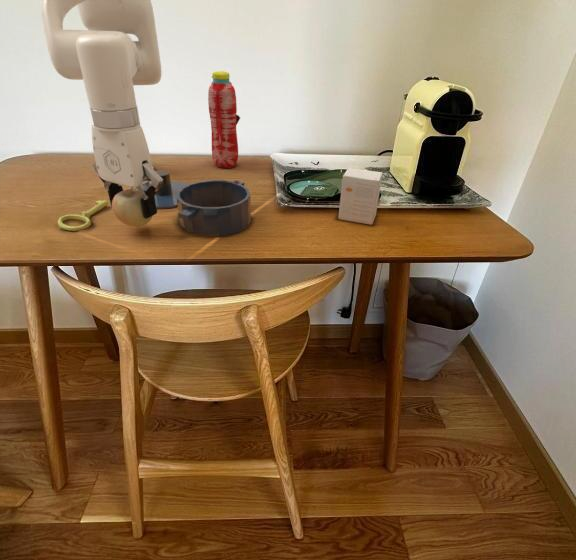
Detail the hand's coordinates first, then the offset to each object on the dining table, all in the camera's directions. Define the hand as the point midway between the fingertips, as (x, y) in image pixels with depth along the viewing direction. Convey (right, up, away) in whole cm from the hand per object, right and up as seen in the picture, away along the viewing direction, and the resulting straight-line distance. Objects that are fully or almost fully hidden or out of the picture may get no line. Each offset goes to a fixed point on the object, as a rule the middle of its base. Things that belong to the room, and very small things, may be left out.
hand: (134, 210), depth 79 cm
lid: (0, +7, +18) cm, 19 cm away
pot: (+15, -1, +9) cm, 17 cm away
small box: (+47, +1, +13) cm, 48 cm away
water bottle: (+12, +21, +41) cm, 47 cm away
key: (-13, -1, +7) cm, 15 cm away
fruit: (0, -2, +2) cm, 3 cm away
